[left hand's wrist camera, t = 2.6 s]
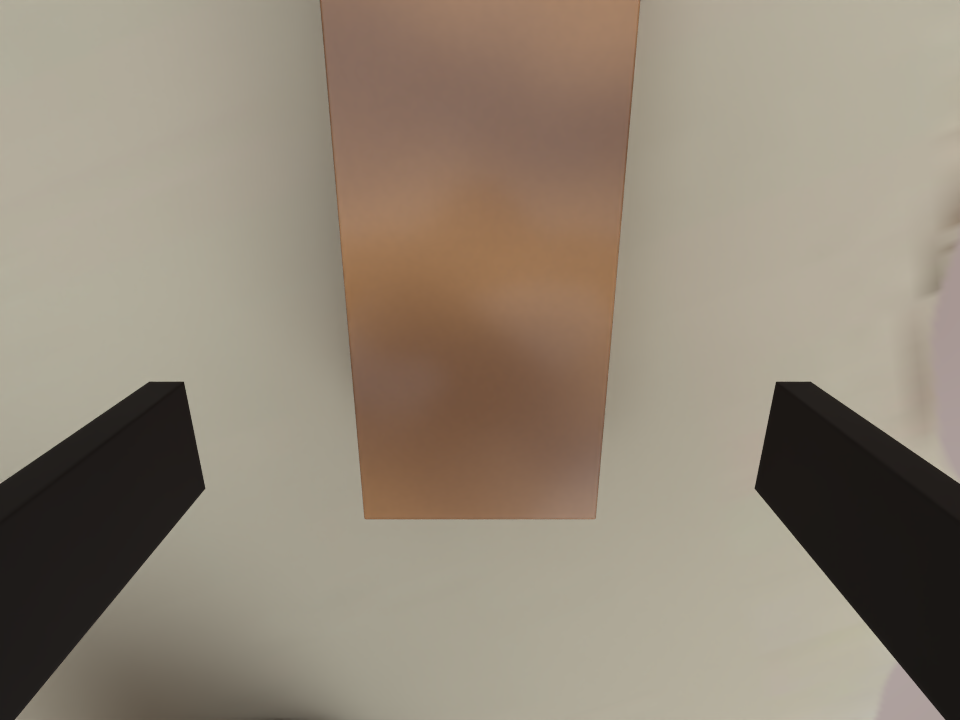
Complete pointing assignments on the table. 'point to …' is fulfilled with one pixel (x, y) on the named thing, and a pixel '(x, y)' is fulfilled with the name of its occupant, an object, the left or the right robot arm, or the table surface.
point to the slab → (480, 245)
